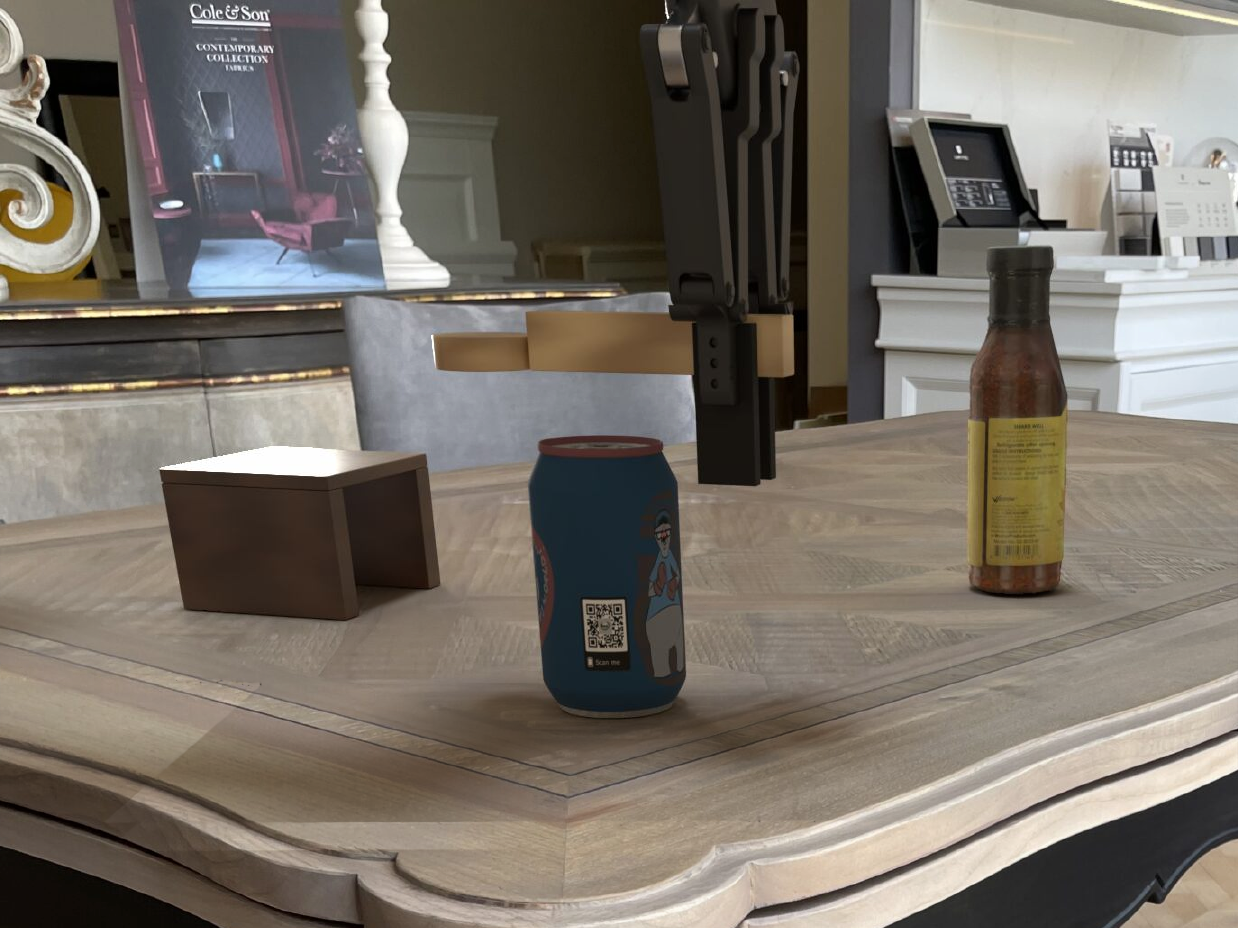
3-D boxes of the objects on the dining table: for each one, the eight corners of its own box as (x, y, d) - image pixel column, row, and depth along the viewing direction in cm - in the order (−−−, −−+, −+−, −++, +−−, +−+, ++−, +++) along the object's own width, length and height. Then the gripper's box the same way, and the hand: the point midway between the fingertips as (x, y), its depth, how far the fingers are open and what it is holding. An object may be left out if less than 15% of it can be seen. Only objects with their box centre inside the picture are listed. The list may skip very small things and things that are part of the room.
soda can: (554, 687, 86) (534, 433, 81) (690, 687, 87) (680, 433, 81) (536, 722, 80) (513, 449, 75) (683, 721, 81) (671, 450, 75)
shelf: (183, 609, 103) (158, 468, 99) (291, 575, 113) (272, 446, 109) (345, 620, 100) (326, 476, 97) (441, 584, 111) (426, 452, 107)
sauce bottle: (1080, 589, 111) (1103, 245, 101) (1017, 601, 107) (1035, 245, 98) (1005, 575, 115) (1020, 244, 106) (942, 587, 111) (952, 244, 102)
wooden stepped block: (416, 370, 76) (410, 310, 75) (464, 363, 80) (458, 306, 79) (773, 379, 72) (772, 317, 71) (804, 372, 76) (803, 312, 75)
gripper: (750, -216, 59) (766, 506, 70) (861, -138, 71) (859, 465, 82) (550, -205, 60) (597, 499, 72) (692, -130, 73) (713, 459, 84)
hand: (737, 479), depth 77 cm, fingers closed on wooden stepped block, 2 cm apart
